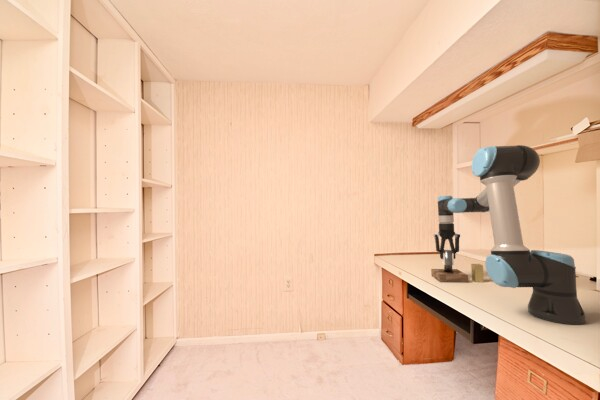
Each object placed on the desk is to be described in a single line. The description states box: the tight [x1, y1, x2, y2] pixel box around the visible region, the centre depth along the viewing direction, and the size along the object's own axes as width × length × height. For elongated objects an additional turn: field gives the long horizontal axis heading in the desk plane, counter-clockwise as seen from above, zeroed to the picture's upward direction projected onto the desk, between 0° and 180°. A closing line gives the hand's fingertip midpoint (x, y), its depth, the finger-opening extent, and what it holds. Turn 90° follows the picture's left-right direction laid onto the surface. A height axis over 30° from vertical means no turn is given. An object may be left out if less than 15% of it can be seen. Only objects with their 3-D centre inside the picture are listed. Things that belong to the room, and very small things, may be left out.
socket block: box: [430, 268, 469, 283], centre depth 149 cm, size 14×14×4 cm
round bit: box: [443, 249, 453, 273], centre depth 149 cm, size 4×4×12 cm
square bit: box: [470, 263, 485, 283], centre depth 143 cm, size 4×4×9 cm
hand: (448, 264), depth 149 cm, fingers closed on round bit, 4 cm apart
